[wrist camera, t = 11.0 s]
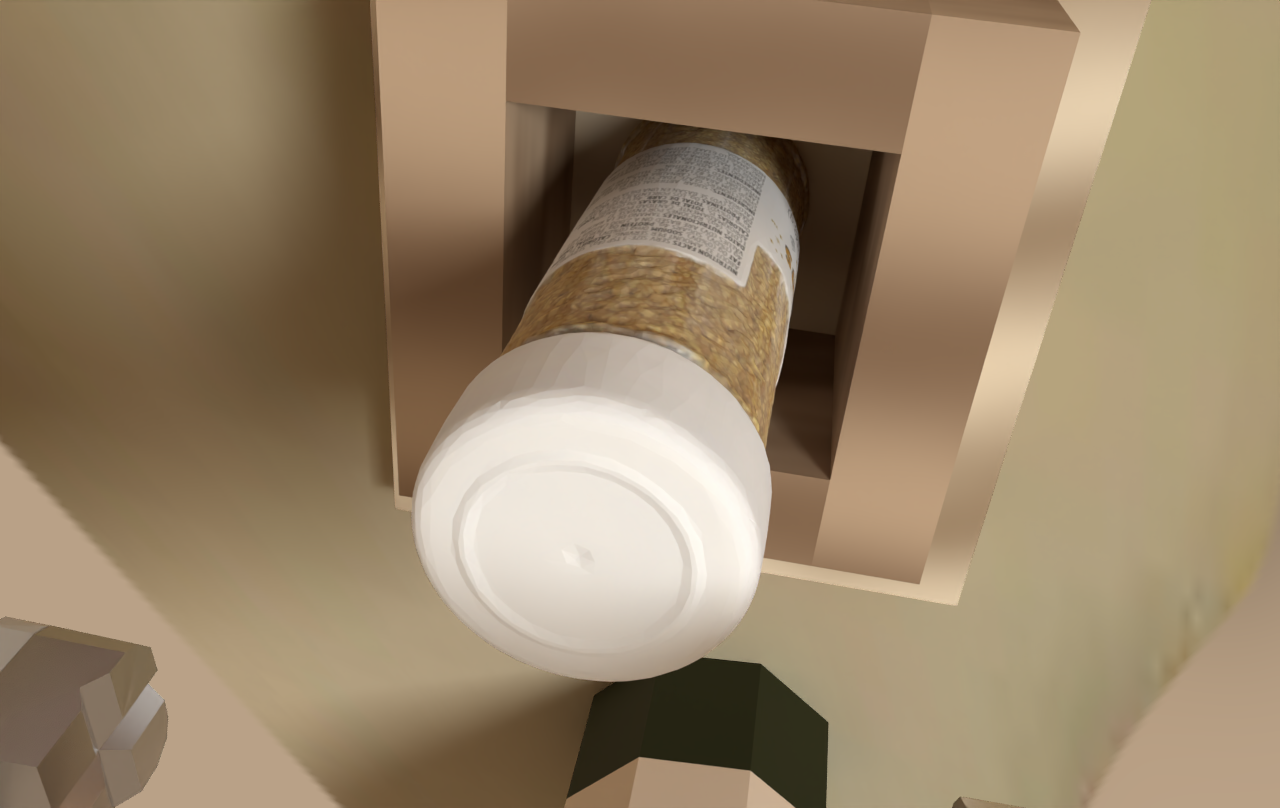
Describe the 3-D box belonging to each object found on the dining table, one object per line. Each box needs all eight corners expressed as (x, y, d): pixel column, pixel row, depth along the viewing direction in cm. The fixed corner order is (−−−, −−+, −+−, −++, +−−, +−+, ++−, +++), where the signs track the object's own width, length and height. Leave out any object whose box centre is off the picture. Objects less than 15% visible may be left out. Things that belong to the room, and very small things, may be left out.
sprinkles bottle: (778, 302, 26) (705, 736, 15) (594, 248, 26) (382, 637, 15) (840, 119, 24) (810, 472, 12) (636, 61, 24) (421, 356, 12)
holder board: (377, -444, 21) (173, -513, 15) (1244, -369, 19) (1429, -410, 13) (412, 478, 33) (308, 658, 27) (952, 570, 31) (976, 783, 25)
